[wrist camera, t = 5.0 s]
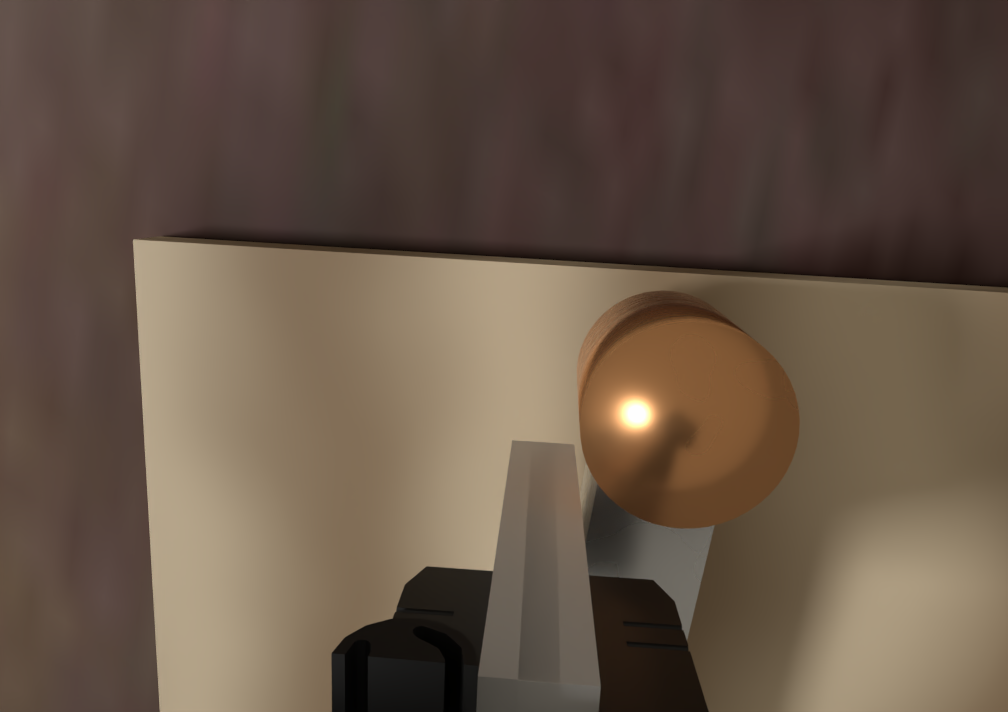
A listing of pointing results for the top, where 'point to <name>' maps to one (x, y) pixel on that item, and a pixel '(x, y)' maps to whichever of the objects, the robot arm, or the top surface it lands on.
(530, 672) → the robot arm
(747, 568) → the press base
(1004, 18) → the top surface
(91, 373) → the top surface
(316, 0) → the top surface
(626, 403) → the lever
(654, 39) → the top surface
